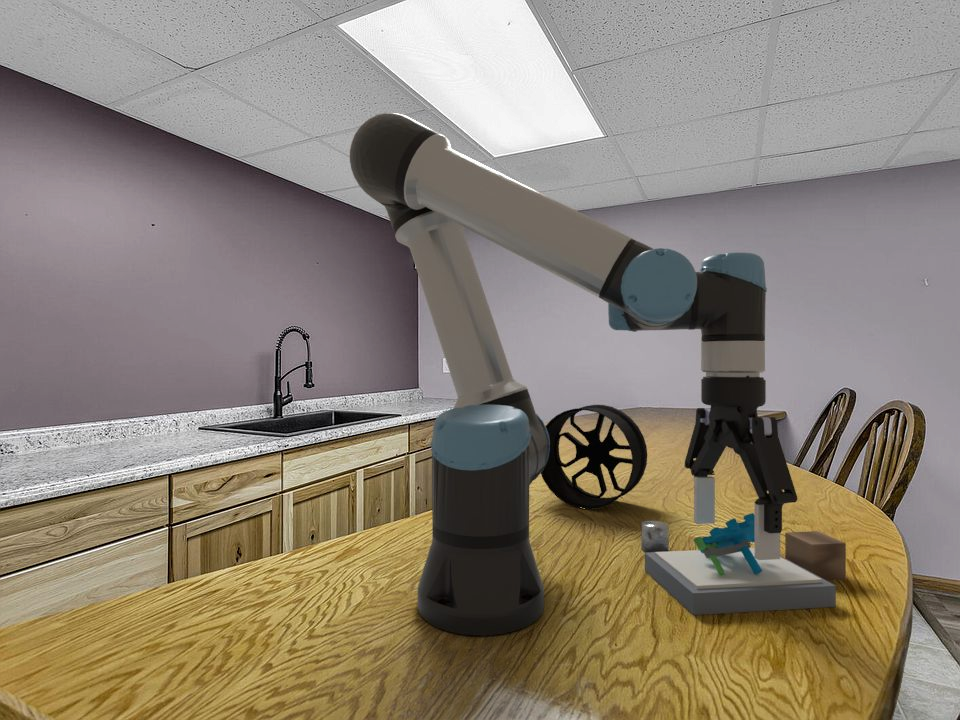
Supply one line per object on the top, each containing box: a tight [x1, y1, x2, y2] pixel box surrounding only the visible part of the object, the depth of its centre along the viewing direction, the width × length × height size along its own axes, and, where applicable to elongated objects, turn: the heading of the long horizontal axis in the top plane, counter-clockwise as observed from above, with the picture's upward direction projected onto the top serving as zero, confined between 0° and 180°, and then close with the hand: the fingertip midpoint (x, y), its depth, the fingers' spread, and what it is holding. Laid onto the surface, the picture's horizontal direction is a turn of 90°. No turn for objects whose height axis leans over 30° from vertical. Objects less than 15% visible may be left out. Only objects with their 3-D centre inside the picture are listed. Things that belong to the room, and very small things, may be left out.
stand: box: [644, 547, 837, 616], centre depth 68 cm, size 18×13×3 cm
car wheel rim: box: [540, 404, 648, 511], centre depth 108 cm, size 20×10×20 cm, turn 58°
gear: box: [693, 512, 762, 575], centre depth 67 cm, size 11×6×10 cm
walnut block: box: [784, 530, 847, 582], centre depth 73 cm, size 5×5×5 cm
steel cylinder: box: [640, 520, 670, 554], centre depth 82 cm, size 4×4×4 cm
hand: (732, 539), depth 68 cm, fingers open, 13 cm apart
